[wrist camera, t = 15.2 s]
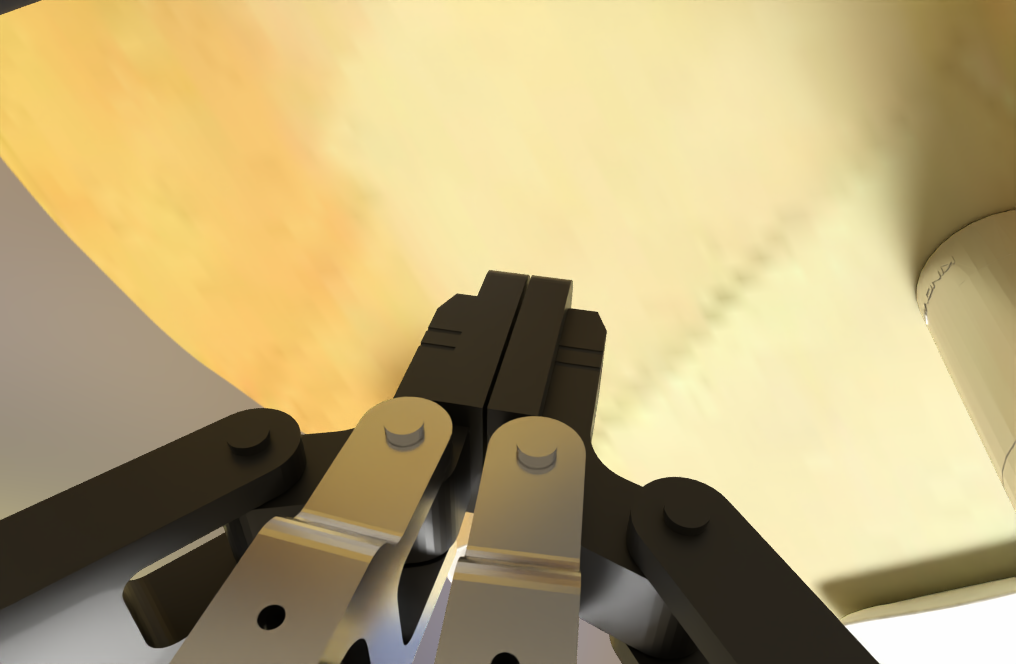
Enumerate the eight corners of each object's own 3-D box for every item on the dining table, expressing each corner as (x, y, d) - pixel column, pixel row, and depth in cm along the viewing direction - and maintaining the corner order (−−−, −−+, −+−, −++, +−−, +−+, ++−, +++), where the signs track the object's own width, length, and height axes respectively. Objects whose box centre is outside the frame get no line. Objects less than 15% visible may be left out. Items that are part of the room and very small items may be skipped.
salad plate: (1175, 675, 60) (1198, 717, 58) (909, 711, 71) (919, 748, 68) (1109, 528, 52) (1133, 569, 49) (818, 593, 62) (825, 630, 60)
